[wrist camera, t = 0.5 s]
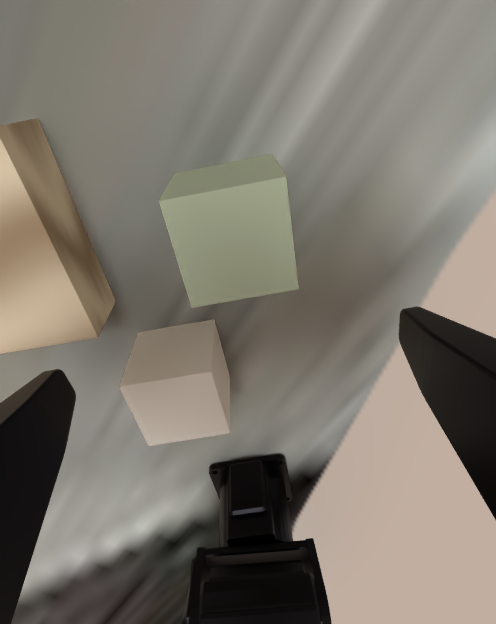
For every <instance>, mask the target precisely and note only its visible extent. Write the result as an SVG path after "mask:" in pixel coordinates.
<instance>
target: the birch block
mask: <svg viewBox="0 0 496 624" xmlns="http://www.w3.org/2000/svg"><path fill="white" fill-rule="evenodd" d="M115 302H116V300H115V298H114V296H113V293H112V291H111V289H110V286H109V284H108V282H107V279H106V277H105V275H104V272H103V270H102V268H101V265H100V263H99V261H98V258H97V256H96V254H95V251H94V249H93V247H92V244H91V242H90V240H89V237H88V235H87V233H86V230H85V228H84V226H83V223H82V221H81V219H80V216H79V214H78V212H77V209H76V207H75V205H74V202H73V200H72V198H71V195H70V193H69V191H68V188H67V186H66V184H65V181H64V179H63V177H62V174H61V172H60V170H59V167H58V165H57V163H56V160H55V158H54V156H53V153H52V151H51V149H50V146H49V144H48V142H47V139H46V137H45V135H44V132H43V130H42V127H41V125H40V123H39V120H38V118H36V119H31V120H26V121H21V122H16V123H11V124H6V125H1V126H0V354H1V353H7V352H13V351H19V350H25V349H31V348H37V347H43V346H49V345H55V344H61V343H67V342H73V341H79V340H85V339H91V338H97V337H99V335H100V333H101V331H102V329H103V327H104V325H105V323H106V321H107V319H108V317H109V314H110V312H111V310H112V308H113V306H114V304H115Z"/></svg>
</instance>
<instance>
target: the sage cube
mask: <svg viewBox="0 0 496 624" xmlns="http://www.w3.org/2000/svg"><path fill="white" fill-rule="evenodd" d="M159 204H160V207H161V210H162V213H163V217H164V220H165V223H166V226H167V230H168V233H169V236H170V239H171V243H172V246H173V249H174V252H175V256H176V259H177V262H178V265H179V269H180V272H181V275H182V278H183V282H184V285H185V288H186V291H187V295H188V298H189V301H190V304H191V308H195V307H200V306H206V305H212V304H218V303H223V302H229V301H235V300H241V299H246V298H252V297H258V296H264V295H269V294H275V293H281V292H287V291H292V290H298V289H299V286H298V278H297V269H296V260H295V251H294V242H293V233H292V225H291V216H290V207H289V198H288V189H287V180H286V176H285V174H284V172H283V171H282V169H281V167H280V165H279V164H278V162H277V160H276V159H275V157H274V155H273V154H270V155H265V156H260V157H255V158H250V159H245V160H240V161H234V162H229V163H224V164H219V165H214V166H209V167H204V168H199V169H194V170H188V171H183V172H178V173H174V175H173V177H172V178H171V180H170V182H169V184H168V186H167V187H166V189H165V191H164V193H163V194H162V196H161V198H160V200H159Z"/></svg>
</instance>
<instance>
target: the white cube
mask: <svg viewBox="0 0 496 624" xmlns="http://www.w3.org/2000/svg"><path fill="white" fill-rule="evenodd" d="M119 388H120V390H121V392H122V394H123V396H124V398H125V400H126V402H127V404H128V406H129V408H130V410H131V412H132V414H133V416H134V418H135V420H136V422H137V424H138V426H139V428H140V430H141V432H142V433H143V435H144V437H145V439H146V441H147V443H148V445H149V446H152V445H159V444H165V443H172V442H178V441H185V440H191V439H198V438H204V437H211V436H217V435H224V434H230V375H229V372H228V368H227V364H226V361H225V357H224V353H223V350H222V346H221V342H220V339H219V335H218V331H217V328H216V324H215V320H214V319H212V320H207V321H201V322H195V323H189V324H183V325H177V326H172V327H166V328H160V329H154V330H148V331H142V332H138V334H137V337H136V339H135V342H134V345H133V348H132V351H131V354H130V356H129V359H128V362H127V365H126V368H125V371H124V373H123V376H122V379H121V382H120V385H119Z"/></svg>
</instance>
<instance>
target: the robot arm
mask: <svg viewBox="0 0 496 624" xmlns="http://www.w3.org/2000/svg"><path fill="white" fill-rule="evenodd" d="M399 340H400V344H401V346H402V349H403V351H404V353H405V356H406V358H407V360H408V363H409V365H410V367H411V369H412V372H413V374H414V377H415V379H416V381H417V383H418V386H419V388H420V390H421V392H422V394H423V396H424V398H425V400H426V402H427V403H428V405H429V407H430V408H431V410H432V412H433V414H434V415H435V417H436V418H437V420H438V422H439V424H440V426H441V427H442V429H443V431H444V432H445V434H446V436H447V437H448V439H449V441H450V443H451V444H452V446H453V448H454V449H455V451H456V453H457V455H458V456H459V458H460V460H461V461H462V463H463V465H464V467H465V468H466V470H467V472H468V473H469V475H470V477H471V478H472V480H473V482H474V484H475V485H476V487H477V489H478V490H479V492H480V494H481V495H482V497H483V499H484V501H485V502H486V504H487V506H488V507H489V509H490V511H491V513H492V514H493V516H494V518H495V519H496V338H493V337H491V336H488V335H486V334H483V333H481V332H479V331H476V330H474V329H471V328H469V327H466V326H464V325H461V324H459V323H457V322H454V321H452V320H450V319H447V318H445V317H443V316H440V315H438V314H435V313H433V312H430V311H428V310H426V309H423V308H421V307H411V308H406V309H403V310H402V311H401V313H400V323H399ZM75 401H76V394H75V391H74V389H73V387H72V385H71V384H70V382H69V380H68V379H67V377H66V375H65V374H64V372H63V371H62V370H59V369H55V370H50V371H45V372H43V373H41V374H40V375H38V376H37V377H36V378H34V379H33V380H32V381H30V382H29V383H27V384H26V385H25V386H23V387H22V388H21V389H19V390H18V391H16V392H15V393H14V394H12V395H11V396H10V397H8V398H7V399H5V400H4V401H3V402H1V403H0V624H11V622H12V618H13V615H14V612H15V609H16V606H17V603H18V599H19V596H20V593H21V590H22V587H23V584H24V580H25V577H26V574H27V571H28V568H29V565H30V561H31V558H32V555H33V552H34V549H35V546H36V542H37V539H38V536H39V533H40V530H41V527H42V523H43V520H44V517H45V514H46V511H47V508H48V504H49V501H50V498H51V495H52V492H53V489H54V485H55V482H56V479H57V476H58V473H59V470H60V466H61V463H62V460H63V457H64V453H65V449H66V445H67V441H68V436H69V431H70V426H71V421H72V416H73V411H74V406H75ZM209 474H210V476H211V479H212V481H213V484H214V487H215V489H216V492H217V494H218V497H219V499H220V519H219V547H212V548H205V547H198V548H197V556H196V558H194V559H193V560H192V565H191V578H190V586H189V591H188V595H187V600H186V604H185V608H184V613H183V617H182V622H181V624H331V617H330V611H329V605H328V600H327V595H326V590H325V586H324V582H323V578H322V573H321V569H320V565H319V561H318V557H317V553H316V548H315V544H314V540H313V538H311V539H306V540H303V541H293V538H292V530H291V523H290V516H289V509H288V502H290V501H291V500H292V499H293V498H292V492H291V487H290V482H289V476H288V471H287V466H286V461H285V457H284V456H283V455H275V456H268V457H262V458H255V459H248V460H242V461H235V462H228V463H221V464H215V465H211V466H210V467H209Z"/></svg>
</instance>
